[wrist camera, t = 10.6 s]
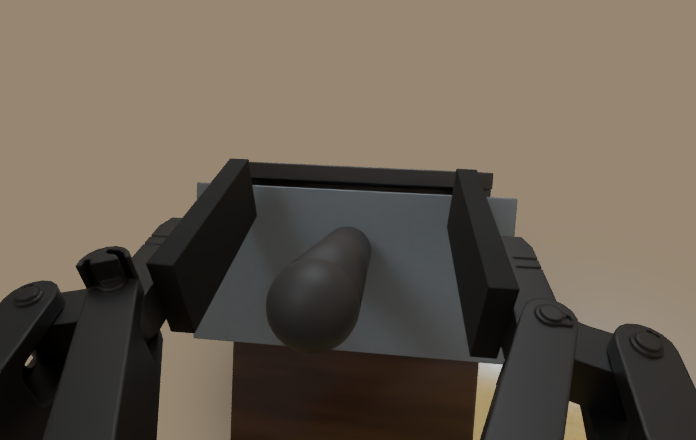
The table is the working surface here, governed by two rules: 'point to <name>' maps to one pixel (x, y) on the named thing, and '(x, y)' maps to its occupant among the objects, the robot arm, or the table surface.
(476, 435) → the table surface
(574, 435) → the table surface
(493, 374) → the table surface
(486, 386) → the table surface
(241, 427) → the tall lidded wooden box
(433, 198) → the top drawer
